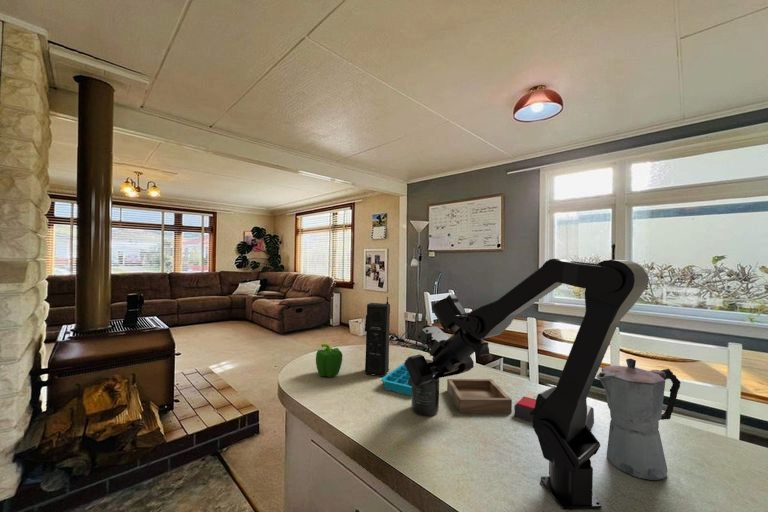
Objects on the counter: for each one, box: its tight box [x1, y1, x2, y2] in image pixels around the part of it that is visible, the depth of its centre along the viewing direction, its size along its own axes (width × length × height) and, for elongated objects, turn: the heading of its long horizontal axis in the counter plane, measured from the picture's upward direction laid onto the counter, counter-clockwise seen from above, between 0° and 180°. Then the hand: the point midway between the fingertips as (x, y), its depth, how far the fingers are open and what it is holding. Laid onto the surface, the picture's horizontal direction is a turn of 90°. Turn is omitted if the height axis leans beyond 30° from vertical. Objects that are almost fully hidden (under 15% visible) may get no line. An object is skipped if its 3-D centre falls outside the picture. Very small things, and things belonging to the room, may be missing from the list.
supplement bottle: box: [410, 358, 440, 417], centre depth 78 cm, size 7×7×12 cm
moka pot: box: [596, 358, 681, 481], centre depth 59 cm, size 10×15×20 cm, turn 94°
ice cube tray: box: [380, 362, 412, 397], centre depth 96 cm, size 12×20×3 cm, turn 152°
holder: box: [446, 378, 513, 414], centre depth 84 cm, size 13×13×3 cm
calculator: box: [513, 390, 595, 432], centre depth 76 cm, size 11×4×15 cm
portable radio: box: [364, 296, 391, 377], centre depth 103 cm, size 8×6×25 cm
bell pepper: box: [315, 343, 343, 378], centre depth 100 cm, size 8×8×10 cm
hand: (423, 380), depth 79 cm, fingers open, 9 cm apart
